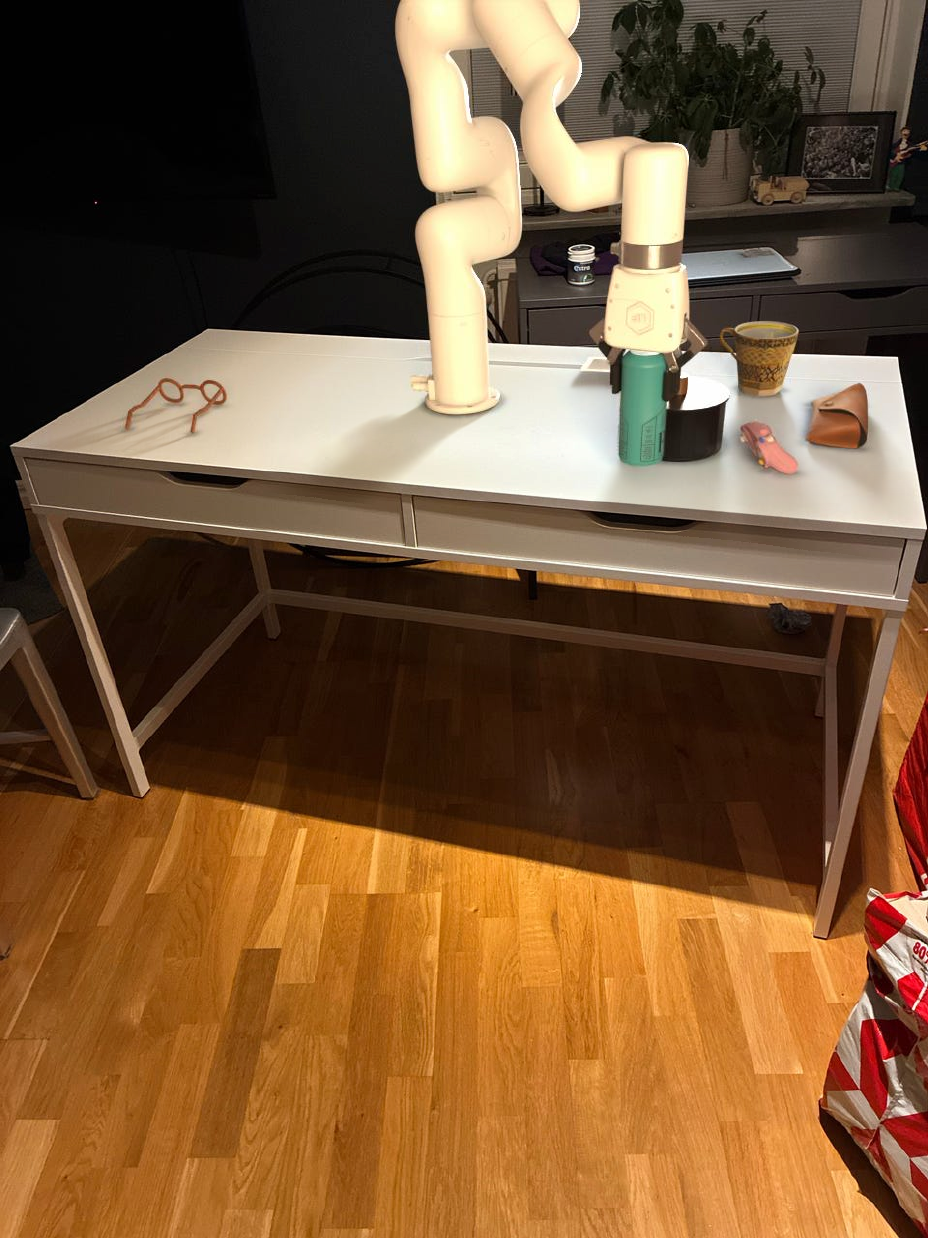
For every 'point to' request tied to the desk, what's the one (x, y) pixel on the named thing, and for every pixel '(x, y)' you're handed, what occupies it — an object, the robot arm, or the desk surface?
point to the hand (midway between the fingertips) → (643, 393)
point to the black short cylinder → (693, 435)
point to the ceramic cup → (762, 355)
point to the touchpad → (596, 364)
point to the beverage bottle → (642, 408)
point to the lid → (697, 395)
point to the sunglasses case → (840, 419)
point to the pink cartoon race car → (767, 447)
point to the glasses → (201, 388)
